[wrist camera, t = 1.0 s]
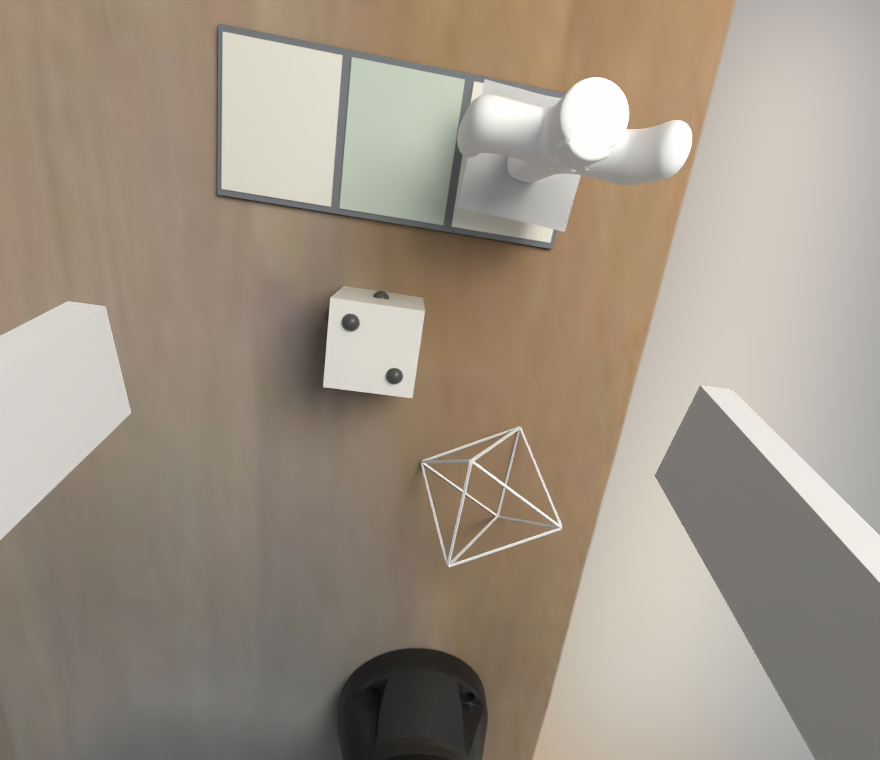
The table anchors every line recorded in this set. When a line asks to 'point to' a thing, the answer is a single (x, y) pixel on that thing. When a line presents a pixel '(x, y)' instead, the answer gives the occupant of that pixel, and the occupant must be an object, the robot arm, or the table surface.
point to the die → (373, 341)
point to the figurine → (557, 149)
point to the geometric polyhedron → (470, 461)
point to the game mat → (350, 134)
